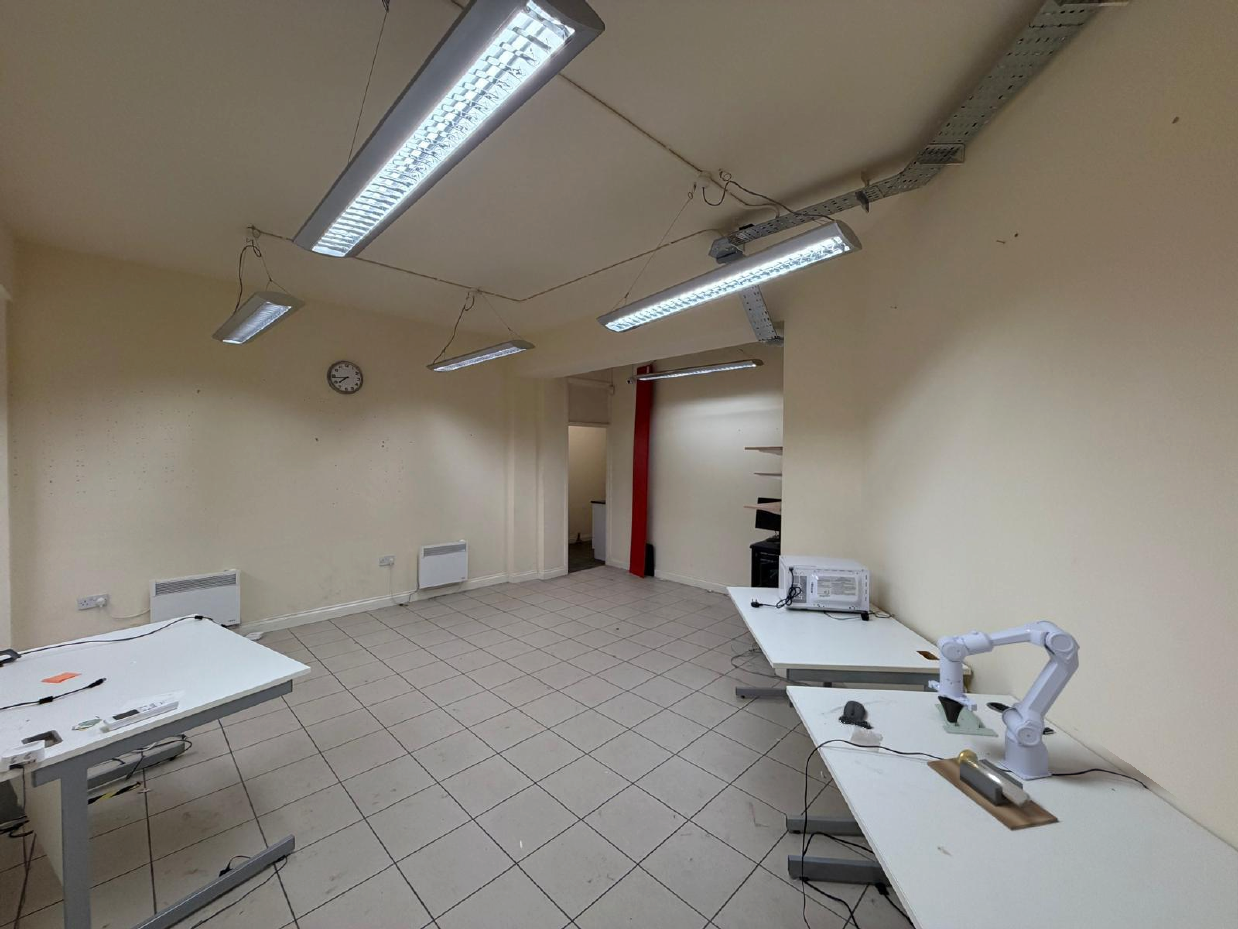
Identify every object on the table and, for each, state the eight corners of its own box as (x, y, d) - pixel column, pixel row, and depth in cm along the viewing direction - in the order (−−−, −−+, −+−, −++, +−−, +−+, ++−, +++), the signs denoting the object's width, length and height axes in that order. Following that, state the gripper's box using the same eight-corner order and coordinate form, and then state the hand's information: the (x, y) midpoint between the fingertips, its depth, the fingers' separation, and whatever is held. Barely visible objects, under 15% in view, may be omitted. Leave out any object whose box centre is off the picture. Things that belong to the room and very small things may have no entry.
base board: (967, 758, 134) (967, 756, 134) (1057, 821, 110) (1057, 818, 110) (927, 764, 132) (927, 762, 132) (1011, 830, 108) (1011, 827, 108)
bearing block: (985, 775, 126) (985, 759, 126) (1023, 801, 116) (1022, 784, 116) (959, 779, 124) (959, 763, 124) (995, 806, 114) (995, 788, 114)
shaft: (973, 767, 128) (973, 747, 128) (1033, 810, 112) (1033, 787, 112) (955, 770, 127) (955, 749, 127) (1014, 814, 111) (1013, 790, 111)
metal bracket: (927, 697, 158) (974, 700, 156) (925, 710, 160) (971, 713, 158) (950, 731, 145) (1001, 735, 142) (947, 745, 147) (998, 749, 144)
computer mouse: (871, 710, 161) (871, 700, 161) (871, 732, 149) (871, 720, 149) (841, 703, 166) (840, 693, 166) (838, 723, 154) (838, 712, 154)
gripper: (920, 668, 142) (920, 710, 142) (962, 690, 128) (963, 737, 128) (939, 666, 143) (939, 707, 143) (982, 688, 129) (983, 734, 129)
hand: (952, 721), depth 135 cm, fingers closed
